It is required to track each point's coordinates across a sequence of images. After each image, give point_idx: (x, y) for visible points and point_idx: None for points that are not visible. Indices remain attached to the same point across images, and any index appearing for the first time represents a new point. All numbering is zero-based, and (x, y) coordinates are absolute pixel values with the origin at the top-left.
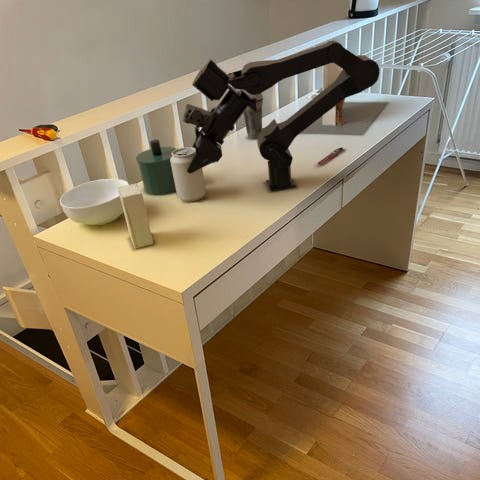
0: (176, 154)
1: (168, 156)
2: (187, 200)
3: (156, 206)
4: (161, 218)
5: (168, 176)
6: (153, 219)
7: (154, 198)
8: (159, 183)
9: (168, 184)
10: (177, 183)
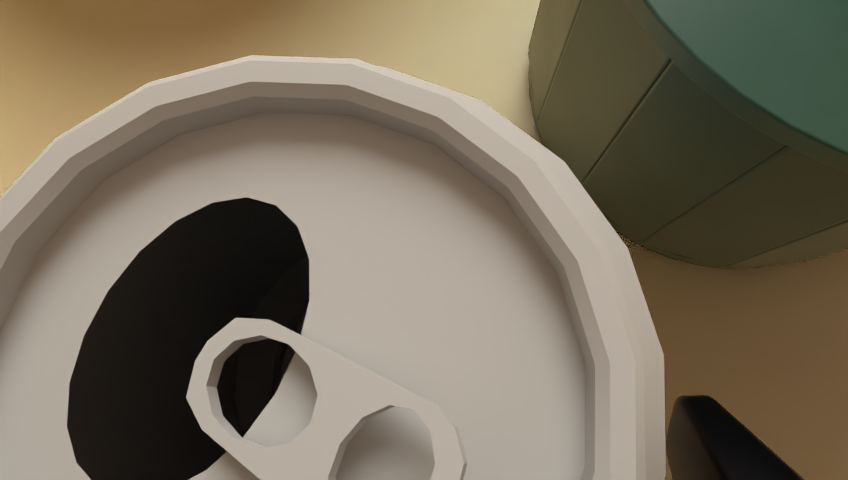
0: (277, 186)
1: (807, 16)
2: (266, 339)
3: (278, 54)
4: (14, 123)
5: (587, 99)
6: (21, 59)
7: (463, 17)
8: (543, 17)
9: (560, 118)
10: (238, 237)
